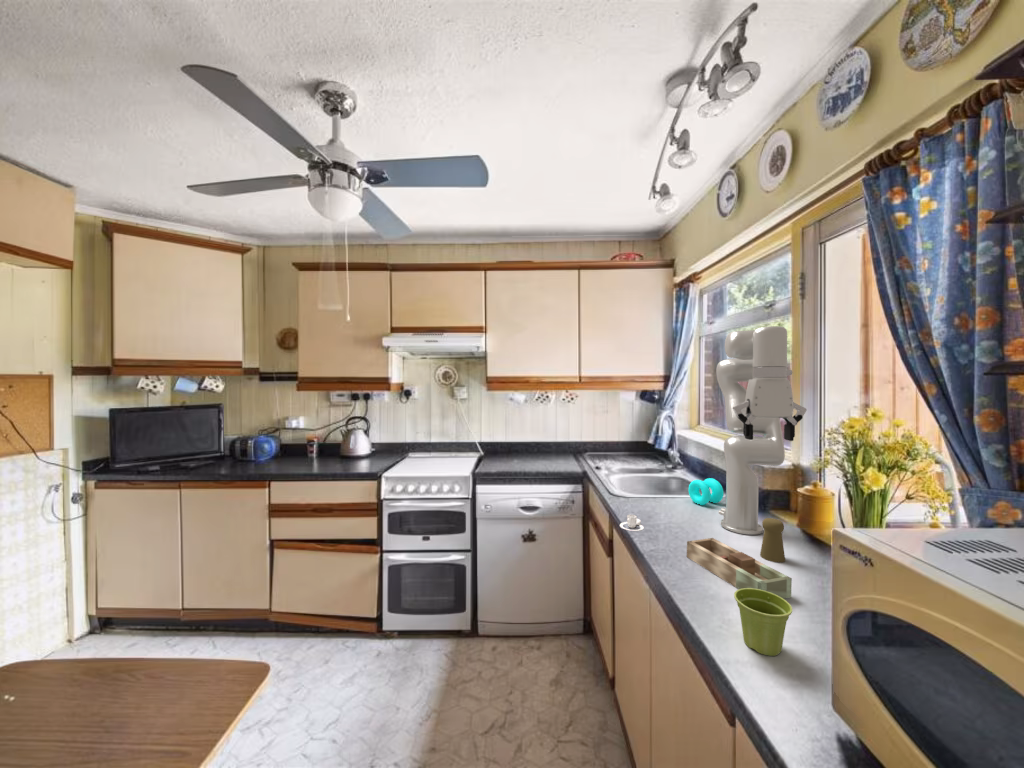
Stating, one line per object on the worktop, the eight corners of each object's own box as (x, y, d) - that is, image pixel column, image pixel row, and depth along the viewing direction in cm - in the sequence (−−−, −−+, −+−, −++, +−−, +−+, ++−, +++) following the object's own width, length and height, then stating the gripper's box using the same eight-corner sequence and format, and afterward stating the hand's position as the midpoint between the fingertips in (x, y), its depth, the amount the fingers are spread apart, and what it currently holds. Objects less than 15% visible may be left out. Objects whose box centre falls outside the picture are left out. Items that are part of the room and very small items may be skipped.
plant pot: (744, 659, 72) (745, 612, 72) (726, 627, 81) (727, 585, 81) (802, 666, 70) (803, 618, 70) (776, 632, 79) (777, 590, 79)
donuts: (725, 505, 158) (725, 481, 158) (706, 508, 154) (706, 483, 154) (704, 498, 167) (704, 475, 167) (686, 501, 164) (686, 477, 163)
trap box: (686, 556, 113) (687, 541, 112) (712, 553, 115) (712, 537, 115) (761, 603, 90) (761, 583, 89) (791, 597, 92) (791, 578, 92)
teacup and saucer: (634, 521, 141) (635, 510, 141) (650, 529, 134) (650, 518, 134) (614, 525, 138) (615, 513, 138) (629, 533, 130) (630, 521, 130)
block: (729, 569, 101) (729, 553, 101) (741, 567, 102) (741, 552, 102) (742, 576, 97) (742, 560, 97) (754, 574, 99) (754, 558, 99)
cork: (761, 551, 117) (762, 514, 116) (786, 556, 113) (787, 518, 113) (758, 558, 112) (759, 519, 112) (784, 564, 108) (784, 525, 108)
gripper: (797, 374, 105) (796, 438, 105) (728, 374, 108) (727, 436, 108) (814, 374, 98) (813, 442, 98) (740, 373, 100) (739, 440, 100)
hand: (768, 439), depth 103 cm, fingers open, 9 cm apart
